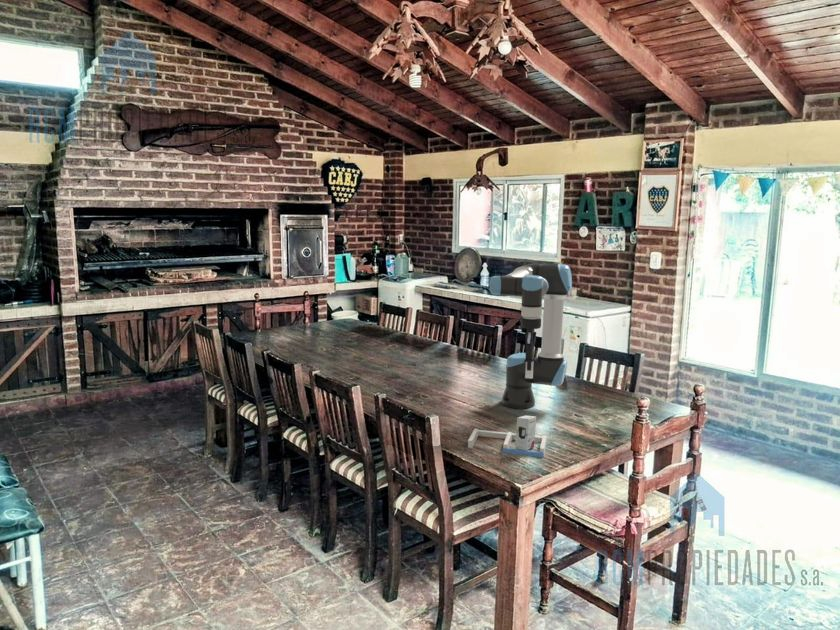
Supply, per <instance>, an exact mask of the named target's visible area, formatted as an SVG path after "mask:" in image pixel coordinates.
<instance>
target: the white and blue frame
mask: <svg viewBox="0 0 840 630" xmlns="http://www.w3.org/2000/svg"><path fill="white" fill-rule="evenodd" d="M479 437H484V438H492V439H493V438H494V439H495V438H496V439H502V440H503V439H504V442H503V447H502V453H503V454H510V455H511V454H512V455H519V456H520V455H522V456H532V457H538V458H539V457H540V458H545V453H546V447H547V442H548V436H547V435H535V441H534V443H540V446H539V451H535V450H529V449H528V450H521V449H517V448H510V445H511V443H512V441H516V433H513V432H512V431H508V432H504V431H494V430H483V429H479V428H473V431H472V432H471V434H470V436H469V438H468V440H467V448H468V449H473V447H474V445H475V443H476V441H477V439H478V438H479Z"/></svg>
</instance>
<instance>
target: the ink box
mask: <svg viewBox="0 0 840 630" xmlns="http://www.w3.org/2000/svg"><path fill="white" fill-rule="evenodd" d="M536 425H537V416H532V415H522V416H519V417H517V418H516V432H515V434H516V440H514V441H515V443H514V449H519V450H528V451H529V450H530V449H532V448H534V447H535V442H534V441H535V436H536V427H537V426H536Z"/></svg>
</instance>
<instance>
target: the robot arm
mask: <svg viewBox="0 0 840 630" xmlns="http://www.w3.org/2000/svg"><path fill="white" fill-rule="evenodd" d="M572 277H573V276H572V270H571V268H570V266H569V265H567V264H560V263H558V264H557V263H535V262H534V263H528V264H524V265H521V266H518V267H516V268H514V270H513V271H512V272H511V273H508V274H506V275H493V276H491V278H490V281H489V291H490V294H491V295H493V296H495V295H496V296H498V297H499V296H509V297H521V307H520V308H519V311H521V315H520V316H521V317H520V327H521V328H522V329H526V331H525V332H524V338H525V339H524V344H525V352H518V353H513V354H510V355H509V356H508V357H507V359H506V366H505V367H506V368H505V369H506V371H505V388H504V391H503V393H502V397H501V405H503V406H505V407H508V408H512V409H521V410H522V409H530V408H533V407H534V406H535V405H536V398H535V396H534V392H533V388H532V385H533V384H534V385H544V386H550V387H552V386H554V387H560V386H561V385H562V384H563V383H564V381H565V377H566V373H567V368H568V361H567V360H566V359H565V355H563V354H562V352H561V351H562V337H563V336H562V335H563V321H564V319H563V318H564V305H565V304H564V303H565V299H566V298H567V297H568V295H569V292H572V288H573V278H572ZM542 303H543V304H542ZM542 305H543V306H542ZM542 313H543V314H542ZM542 315H543V317H542ZM541 317H542V318H541ZM540 328H542V331H541V332H542V333H541V347H540V348H541V349H540V351H539V352H538V354H537V356H536V357H535V344H536V337H537V331H535V330H538V329H540ZM564 359H565V360H564Z"/></svg>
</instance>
